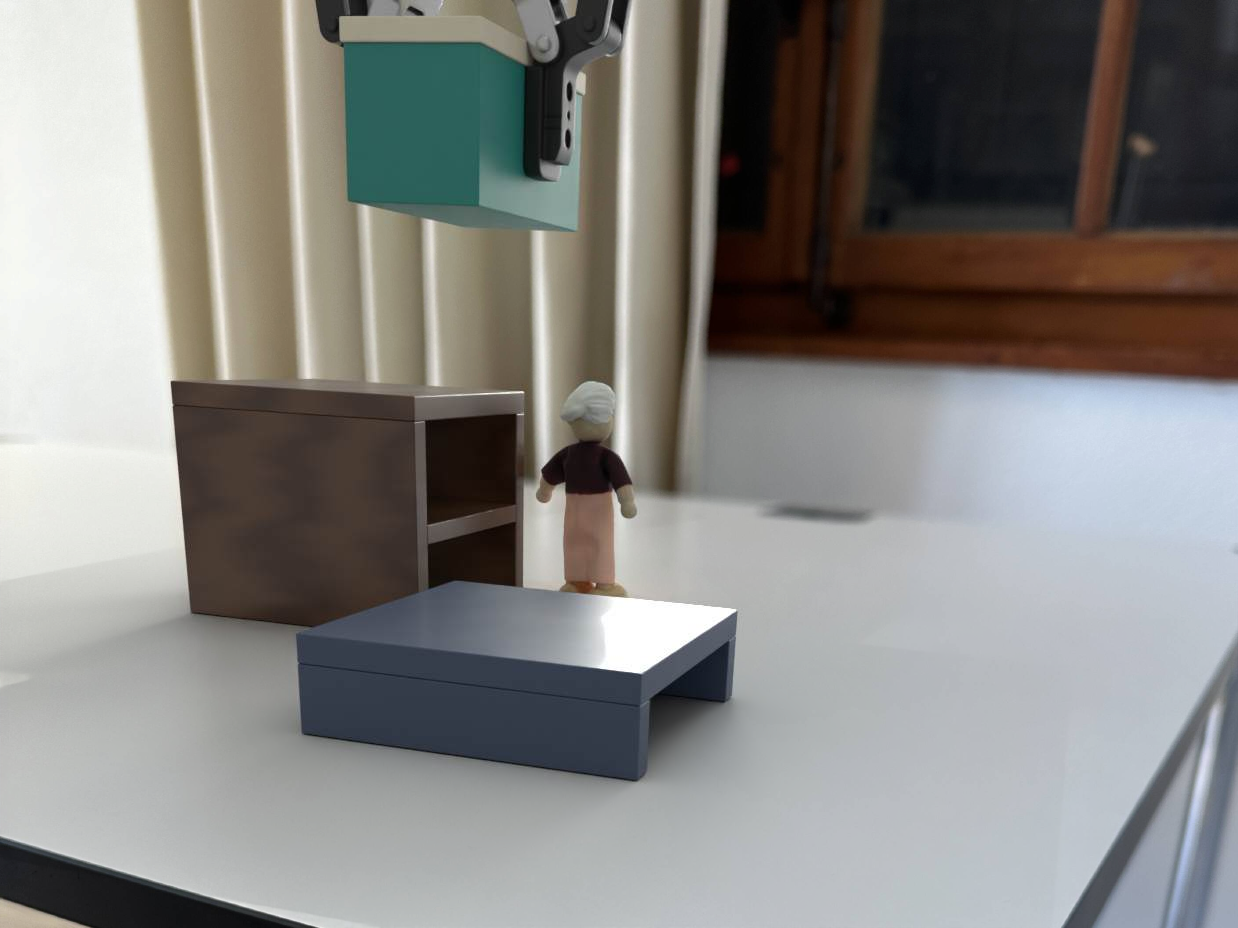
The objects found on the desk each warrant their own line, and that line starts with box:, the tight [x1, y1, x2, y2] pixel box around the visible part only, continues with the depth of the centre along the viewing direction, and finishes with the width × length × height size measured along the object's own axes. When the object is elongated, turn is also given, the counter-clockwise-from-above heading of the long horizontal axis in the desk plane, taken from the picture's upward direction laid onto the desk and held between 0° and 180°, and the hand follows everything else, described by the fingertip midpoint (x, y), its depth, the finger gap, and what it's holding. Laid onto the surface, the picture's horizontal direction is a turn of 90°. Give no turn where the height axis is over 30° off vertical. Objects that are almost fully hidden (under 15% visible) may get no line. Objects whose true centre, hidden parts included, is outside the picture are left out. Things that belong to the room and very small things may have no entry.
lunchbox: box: [339, 15, 587, 233], centre depth 52 cm, size 6×10×6 cm, turn 162°
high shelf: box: [170, 378, 525, 628], centre depth 75 cm, size 14×14×12 cm
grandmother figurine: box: [535, 380, 638, 598], centre depth 81 cm, size 8×4×13 cm, turn 65°
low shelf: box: [295, 581, 739, 781], centre depth 55 cm, size 14×14×4 cm
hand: (469, 175), depth 53 cm, fingers closed on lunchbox, 5 cm apart
